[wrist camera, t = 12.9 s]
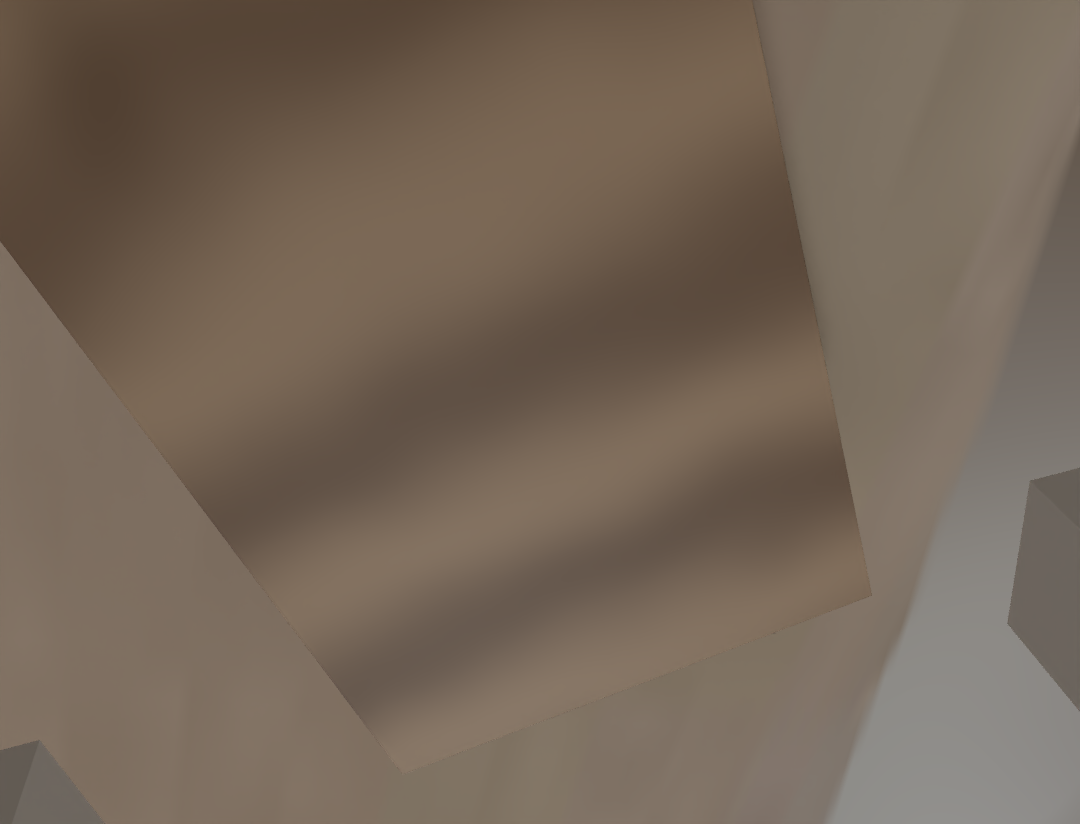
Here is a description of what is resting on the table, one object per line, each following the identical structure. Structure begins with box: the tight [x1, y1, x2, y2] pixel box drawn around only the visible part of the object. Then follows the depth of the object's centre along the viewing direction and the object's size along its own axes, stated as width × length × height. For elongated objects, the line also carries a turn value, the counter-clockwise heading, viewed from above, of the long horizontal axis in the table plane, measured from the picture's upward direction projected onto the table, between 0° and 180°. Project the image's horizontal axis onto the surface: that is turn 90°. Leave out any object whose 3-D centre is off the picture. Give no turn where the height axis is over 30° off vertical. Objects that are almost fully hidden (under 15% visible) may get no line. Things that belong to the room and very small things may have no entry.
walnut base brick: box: [0, 0, 872, 774], centre depth 22 cm, size 22×14×6 cm, turn 20°
